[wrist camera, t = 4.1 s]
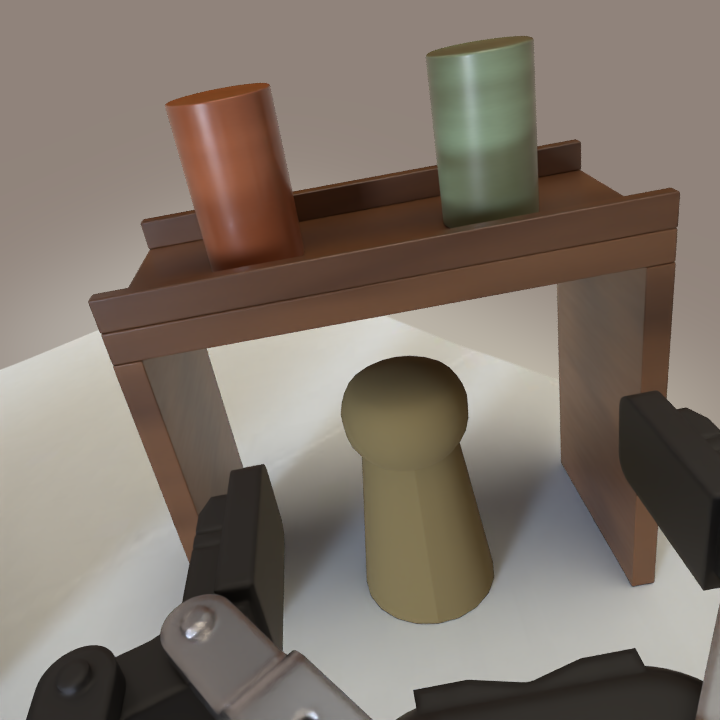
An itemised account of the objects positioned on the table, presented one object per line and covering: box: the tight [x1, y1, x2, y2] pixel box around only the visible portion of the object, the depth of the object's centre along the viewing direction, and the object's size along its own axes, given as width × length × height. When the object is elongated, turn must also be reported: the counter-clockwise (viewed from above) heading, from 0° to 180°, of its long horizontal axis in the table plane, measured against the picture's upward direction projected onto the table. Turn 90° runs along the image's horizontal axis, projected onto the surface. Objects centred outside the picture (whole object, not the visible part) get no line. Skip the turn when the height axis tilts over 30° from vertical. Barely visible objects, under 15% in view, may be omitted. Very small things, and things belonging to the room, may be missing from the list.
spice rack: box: [88, 36, 680, 586], centre depth 28 cm, size 9×19×22 cm, turn 95°
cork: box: [341, 356, 494, 624], centre depth 30 cm, size 6×6×11 cm
